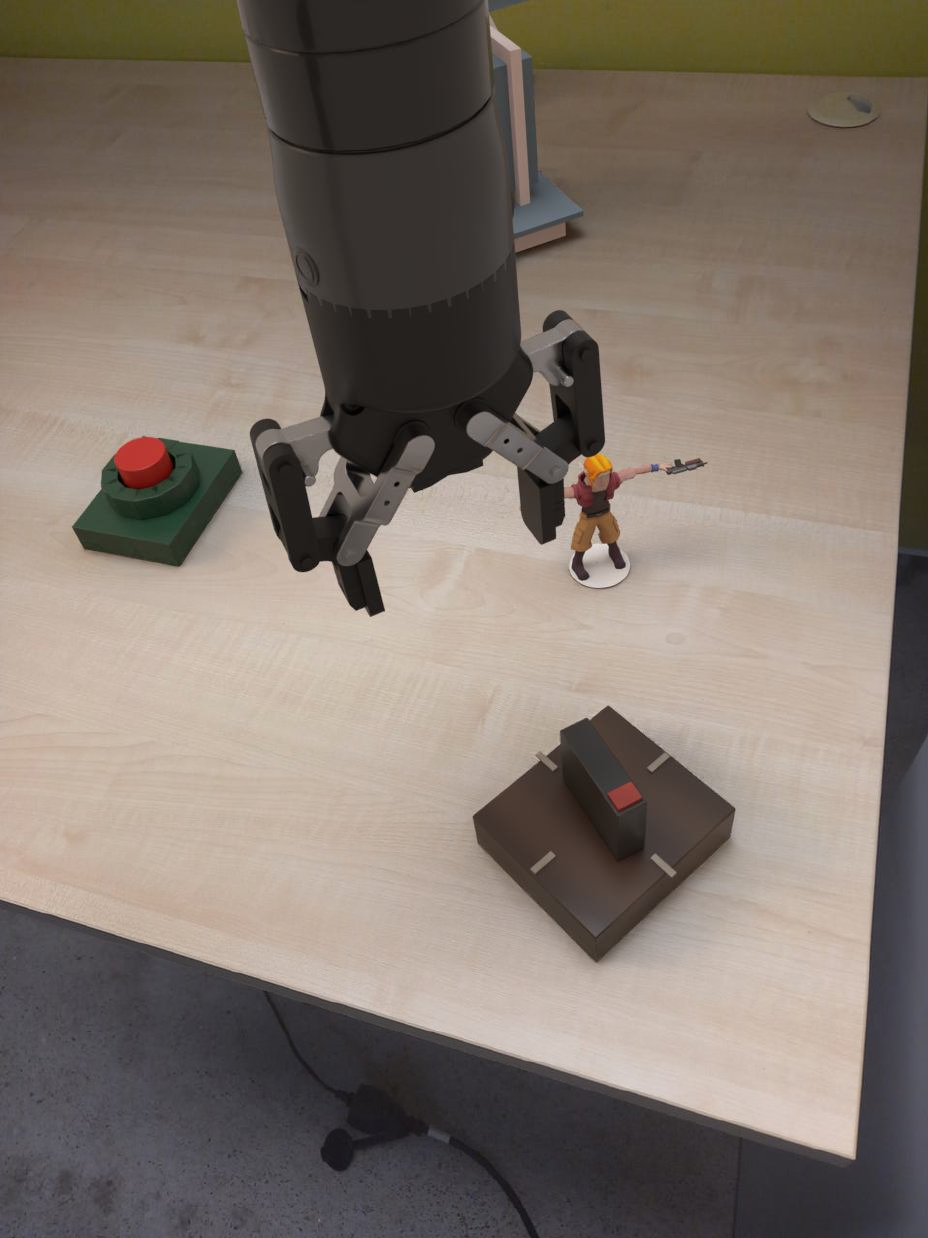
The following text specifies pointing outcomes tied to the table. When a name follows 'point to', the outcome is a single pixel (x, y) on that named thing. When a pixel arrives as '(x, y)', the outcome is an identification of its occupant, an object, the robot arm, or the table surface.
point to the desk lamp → (525, 146)
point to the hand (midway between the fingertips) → (455, 566)
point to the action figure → (604, 519)
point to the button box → (159, 505)
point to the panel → (578, 856)
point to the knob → (603, 789)
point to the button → (143, 462)
